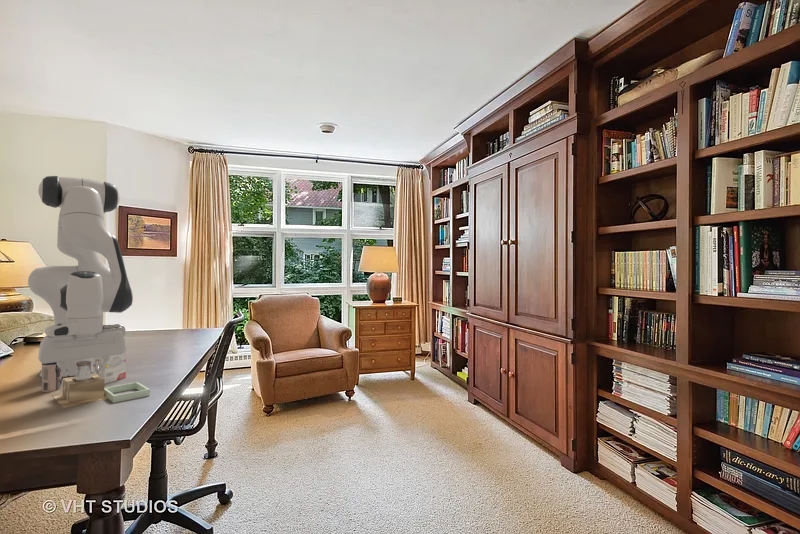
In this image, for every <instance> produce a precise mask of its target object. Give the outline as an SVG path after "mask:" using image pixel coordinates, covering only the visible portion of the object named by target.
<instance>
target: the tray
mask: <svg viewBox="0 0 800 534" xmlns="http://www.w3.org/2000/svg"><path fill="white" fill-rule="evenodd" d="M131 390H136V391H131ZM127 391H129V392H127ZM130 391H131V392H130ZM118 392H125V393H121V394H120V393H119V394H114V393H118ZM150 395H151V389H150V388H148V387H147V386H145V385H144V384H142V383H140V382H138V381H136V382H129V383H123V384H118V385H113V386H107V387H104V396H106V397H107V398H108V399H107V400H110V401H111V402H112V403H118V402H123V401H129V400H133V399H139V398H145V397H149V396H150Z"/></svg>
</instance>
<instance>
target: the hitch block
mask: <svg viewBox="0 0 800 534" xmlns="http://www.w3.org/2000/svg"><path fill="white" fill-rule="evenodd" d="M105 385H106V384H105V380H104V379H103V378H101V377H100V376H98V375H97V374H93V373H91V380H88V381H81V382H76V376H69V377H63V378H62V392H61V393H55V394H51V396H52V397H53V399H55V401H57V403H58V404H59V405H60V406H61V407H62V408H64V409H65V408H68V407H69V408H70V407H74V406H79V405H84V404H89V403H90V404H91V403H95V402H99V401H107V400H109V399H108V398H107V397H106V396H104V388H106V387H105Z"/></svg>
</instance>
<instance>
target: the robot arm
mask: <svg viewBox="0 0 800 534" xmlns="http://www.w3.org/2000/svg"><path fill="white" fill-rule="evenodd" d="M38 196H39V197H40V200H41V202H42V203H43V204H44V205H45V206H47V207H51V208H60V209H59V215H58V222H57V235H56V236H57V238H56V239H57V240H56V243H57V244H56V245H57V247H56V248H57V250H58V251H59V252H61V253H62V254H64V255H66V256H68V257H70V258H72V259H75V260H76V261H77V265H49V266H42V267H36V268H35V269H34V270H32V271H31V273H30V274H29V276H28V279H27V285H28V288H29V289H30V291H31V292H32V293H33V294H34V295H35V296H38V297H40V298H41V299H42V300H44V301H45V302H46V303H47V305H49V307H50V308H51V311H52V313H53V318H54V320H53V321H54V324H53V325H50V326H46V327H45V329H44V334H45V336H44V337H43V338H42V339H41V341H40V342H39V343H40V344H39V349H38V357H37V358H38V361H39V362H40V363H41V364H42V363H43V364H46V363H54V362H57V366H58V367H59V368H60V369H61V371H62V378H68V377H76V363H77V362H81V361H92V363H91V373H93V358H95V357H102V359H104V360H103V362H102V364H101V365H98V372H102V371H105V365H106V364H107V362H108V361H109V358H110V356H111V355H119V354H123V353H124V351H125V345H126V341H125V342H124V338H125V336H126V328H125V326H123V325H121V324H119V323H117V324H104V313H116V314H117V313H118V314H119V313H120V314H121V313H123V312H126V310H128V309H129V308H130V307H131V306H133V301H134V293H133V290H132V288H131V285H130V282H129V278H128V275H127V270H126V266H125V262H124V259H123V255H122V250H121V247H120V243H119V241H118V239H117V237H116V236H115V235H114V234H111V232H109V230H108V229H107V226H106V224H105V213H109V212H112V211H114V210H116V209H117V206H118V205H119V203H120V199H121V197H120V192H119V190H118V187H117V186H116V185H115V184H113V183H111V182H107V181H104V182H103V181H99V180H95V179H90V178H85V177H80V178H79V177H70V176H69V177H68V176H67V177H66V176H65V177H64V176H58V175H47V176H45V177H44V178H42V180H41V182H40V183H39V185H38ZM99 254H100V255H101V256H103V257H104V258H106V261H107V264H108V265H106V264H105V263H104V262H103V261H102V259H101V258H100V255H99ZM39 378H42V370H40V373H39Z"/></svg>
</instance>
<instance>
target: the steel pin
mask: <svg viewBox="0 0 800 534" xmlns="http://www.w3.org/2000/svg"><path fill="white" fill-rule="evenodd" d="M91 363H92V361H81V362H77V363H76V376H75V377H76V382H81V381H88V380H91V374H92V372H91Z"/></svg>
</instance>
